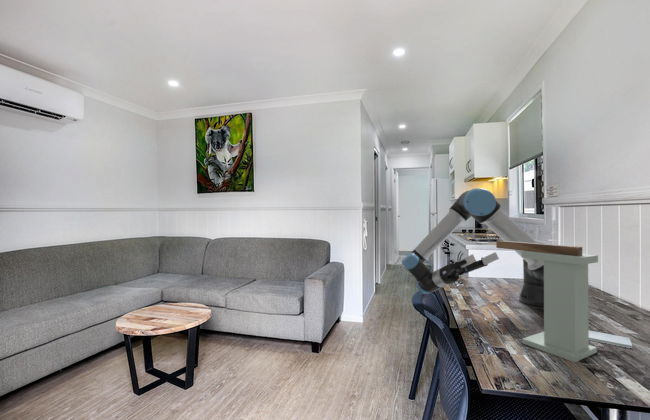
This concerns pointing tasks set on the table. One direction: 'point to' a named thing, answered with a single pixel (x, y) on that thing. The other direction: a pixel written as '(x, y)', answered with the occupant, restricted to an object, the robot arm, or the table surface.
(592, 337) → the hard drive
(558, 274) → the sage stand
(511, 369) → the table surface
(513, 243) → the walnut bar
